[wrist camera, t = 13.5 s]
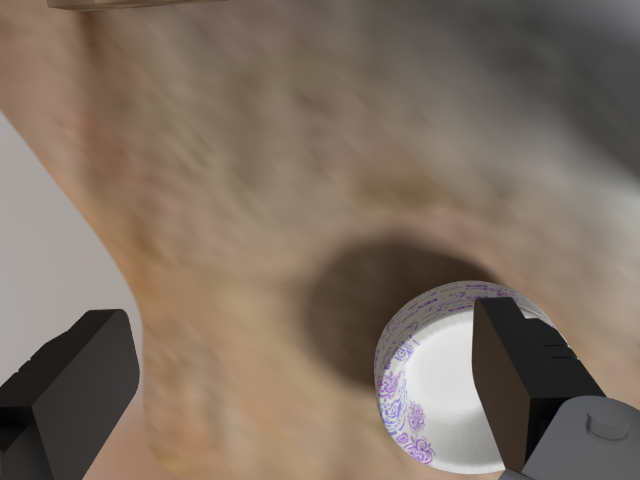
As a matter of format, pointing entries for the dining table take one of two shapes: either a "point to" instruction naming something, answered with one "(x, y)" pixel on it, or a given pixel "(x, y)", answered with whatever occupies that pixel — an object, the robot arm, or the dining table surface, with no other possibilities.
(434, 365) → the white patterned bowl
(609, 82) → the dining table surface
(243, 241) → the dining table surface
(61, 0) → the socket block
